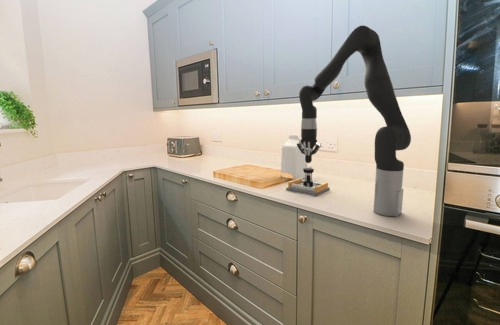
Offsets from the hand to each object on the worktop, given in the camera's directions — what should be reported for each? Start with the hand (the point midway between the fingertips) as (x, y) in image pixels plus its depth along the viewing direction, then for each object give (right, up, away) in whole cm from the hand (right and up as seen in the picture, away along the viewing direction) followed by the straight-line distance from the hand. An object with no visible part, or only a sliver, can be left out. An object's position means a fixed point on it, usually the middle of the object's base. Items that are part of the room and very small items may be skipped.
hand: (308, 162), depth 137 cm
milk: (-2, -9, +32) cm, 34 cm away
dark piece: (0, -12, +2) cm, 13 cm away
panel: (0, -14, +2) cm, 14 cm away
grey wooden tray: (0, -13, +2) cm, 13 cm away
